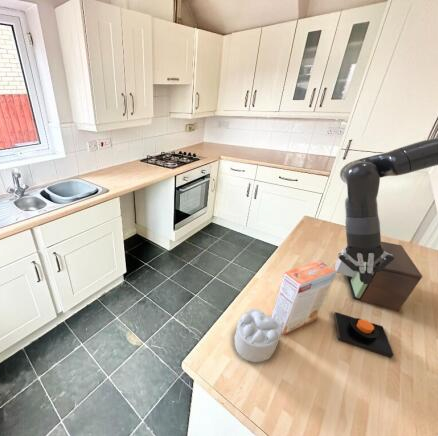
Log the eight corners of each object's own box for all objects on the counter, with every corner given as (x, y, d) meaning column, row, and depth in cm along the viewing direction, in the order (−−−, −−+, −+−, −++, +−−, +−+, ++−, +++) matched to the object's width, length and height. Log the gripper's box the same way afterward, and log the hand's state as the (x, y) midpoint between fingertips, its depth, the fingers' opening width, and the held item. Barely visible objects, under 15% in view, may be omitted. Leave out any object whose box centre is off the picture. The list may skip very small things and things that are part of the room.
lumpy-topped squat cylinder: (280, 342, 72) (288, 322, 68) (260, 373, 64) (267, 353, 60) (247, 320, 79) (252, 301, 74) (225, 346, 71) (229, 326, 67)
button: (369, 326, 72) (372, 322, 71) (373, 335, 69) (375, 331, 68) (354, 321, 73) (357, 317, 73) (357, 330, 71) (359, 326, 70)
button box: (379, 331, 74) (385, 322, 72) (390, 359, 67) (396, 350, 65) (332, 316, 79) (337, 307, 77) (337, 341, 72) (342, 332, 70)
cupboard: (381, 279, 94) (401, 244, 86) (397, 313, 80) (423, 275, 72) (343, 269, 99) (359, 236, 91) (352, 300, 85) (372, 263, 77)
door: (352, 276, 93) (367, 247, 87) (359, 298, 84) (377, 267, 77) (332, 271, 96) (345, 243, 89) (336, 292, 87) (351, 261, 80)
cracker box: (299, 307, 83) (318, 258, 73) (315, 321, 78) (339, 271, 68) (267, 320, 78) (283, 270, 68) (282, 336, 73) (302, 285, 63)
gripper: (335, 234, 72) (340, 287, 75) (397, 232, 64) (400, 291, 67) (333, 227, 78) (337, 276, 81) (390, 224, 70) (393, 278, 73)
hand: (366, 283), depth 74 cm, fingers closed
